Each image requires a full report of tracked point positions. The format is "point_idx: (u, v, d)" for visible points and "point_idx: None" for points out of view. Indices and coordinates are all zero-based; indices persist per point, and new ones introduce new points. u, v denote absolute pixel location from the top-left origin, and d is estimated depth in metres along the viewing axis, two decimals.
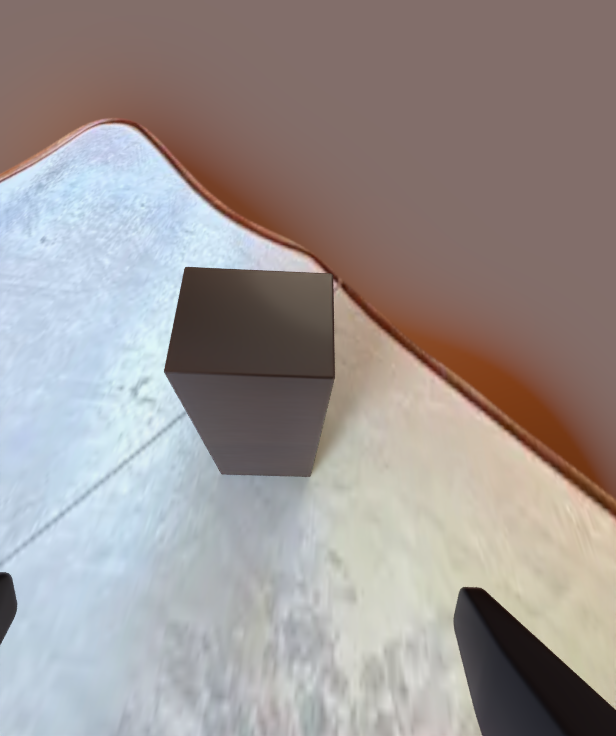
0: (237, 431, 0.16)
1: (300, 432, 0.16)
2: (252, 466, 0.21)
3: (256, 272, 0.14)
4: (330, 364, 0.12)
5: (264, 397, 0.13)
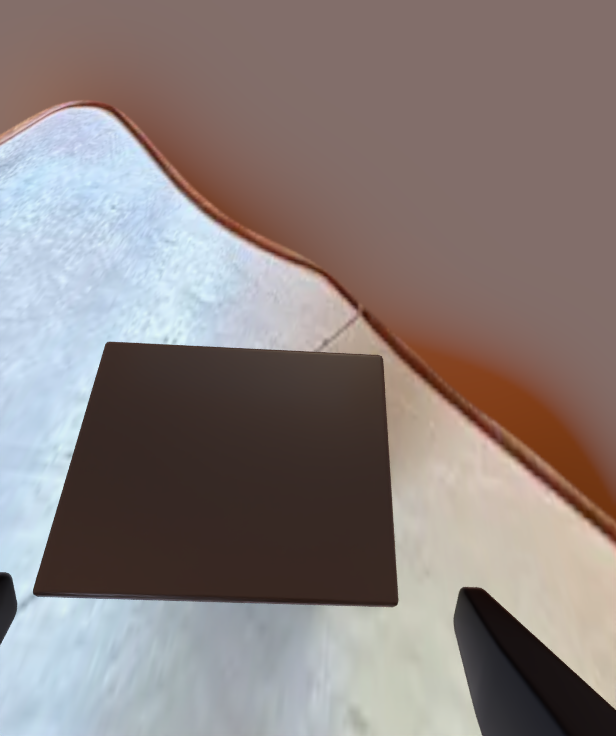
0: None
1: None
2: None
3: (240, 353, 0.07)
4: (388, 569, 0.06)
5: None
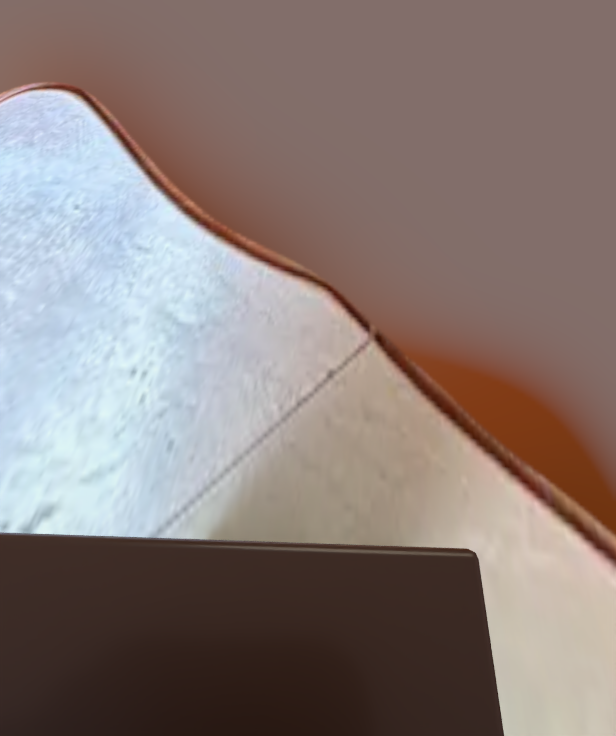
0: None
1: None
2: None
3: (160, 556, 0.03)
4: None
5: None
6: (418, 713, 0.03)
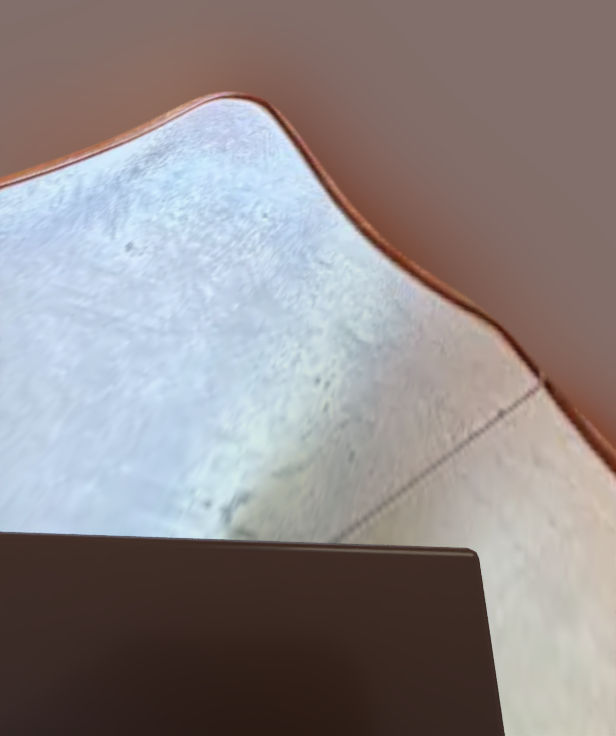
0: None
1: None
2: None
3: (161, 555, 0.03)
4: None
5: None
6: (419, 712, 0.03)
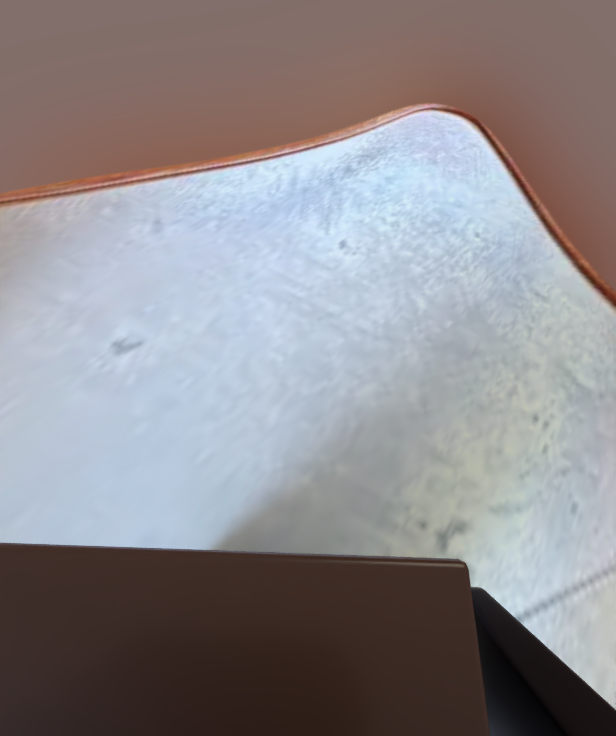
0: None
1: None
2: None
3: (169, 566, 0.03)
4: None
5: None
6: (410, 713, 0.03)
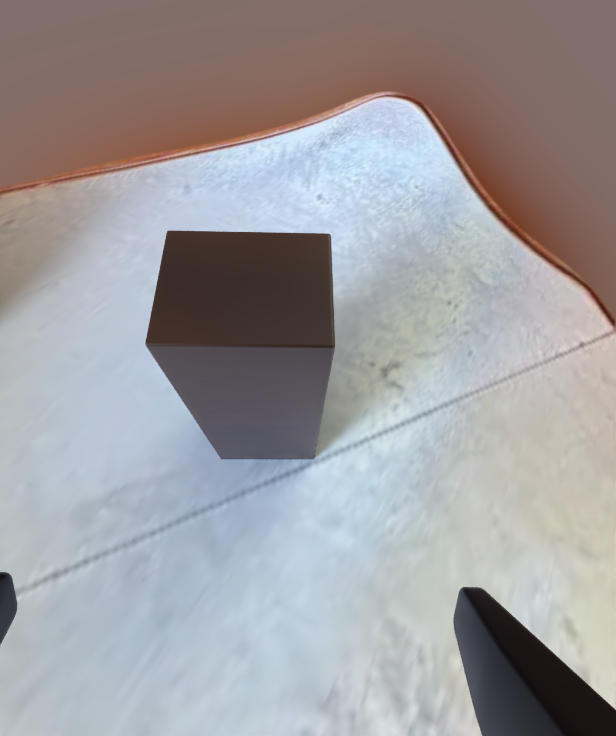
0: (233, 411, 0.15)
1: (300, 410, 0.15)
2: (252, 449, 0.20)
3: (246, 234, 0.12)
4: (329, 331, 0.11)
5: (258, 371, 0.12)
6: (311, 259, 0.12)
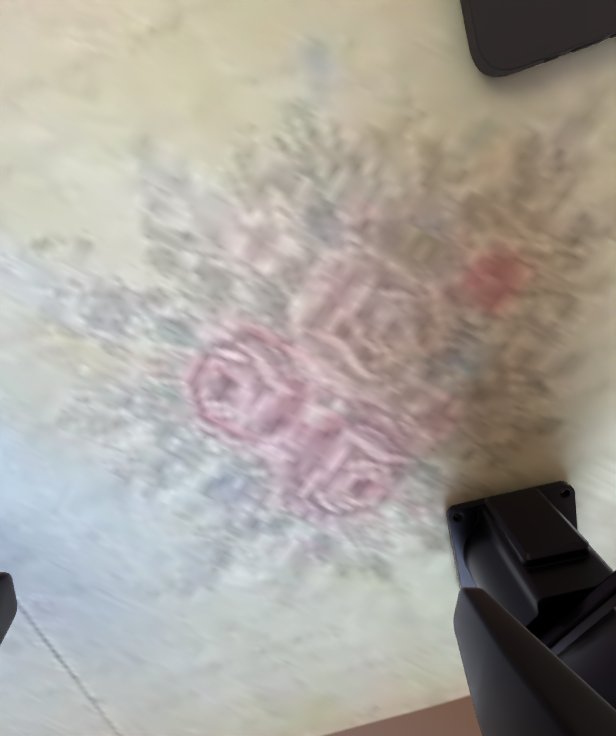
0: None
1: None
2: None
3: None
4: None
5: None
6: None
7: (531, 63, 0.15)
